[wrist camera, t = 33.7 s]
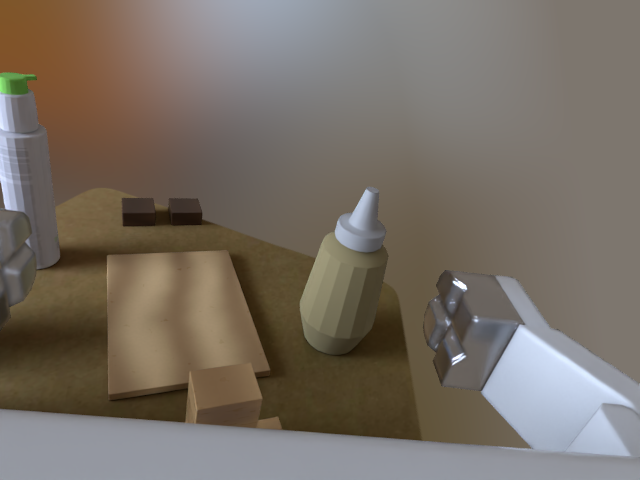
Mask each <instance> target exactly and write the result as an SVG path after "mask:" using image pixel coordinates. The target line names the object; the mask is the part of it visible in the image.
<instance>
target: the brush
mask: <svg viewBox="0 0 640 480" xmlns="http://www.w3.org/2000/svg"><path fill="white" fill-rule="evenodd" d="M262 399H263V398H262V395H261V392H260V389H259V386H258V383H257V380H256V376H255V373H254V370H253V367H252V364H251V363H243V364H236V365H229V366H222V367H215V368H208V369H201V370H194V371H190V373H189V385H188V398H187V410H186V422H185V423H196V424H209V425H222V426H236V427H249V428H262V429H276V430H282V427H281V424H280V421H279V418H278V417H273V418H268V419H263V420H258V418H259V413H260V408H261V403H262Z"/></svg>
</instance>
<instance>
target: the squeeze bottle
mask: <svg viewBox="0 0 640 480" xmlns="http://www.w3.org/2000/svg"><path fill="white" fill-rule="evenodd" d="M378 201H379V191H378V189H376V188H373V187H367V188H366V191H365V192H364V194H363V196H362V198H361V200H360V201H359V203H358V205H357V207H356V208H355V210H354V212H353V213H346V214H344V215H342V216H340V218H339V219H338V222H337V226H336V230H335V231H333V232H331V233H329V234H327V235H326V236H325V238H324V240H323V241H322V244H321V247H320V250H319V252H318V255H317V258H316V260H315V263H314V266H313V268H312V271H311V274H310V276H309V279H308V282H307V284H306V287H305V290H304V292H303V295H302V298H301V300H300V313H301V319H302V325H303V330H304V336H305V338H306V340H307V341H308V343H309V344H310V345H311V346H313V347H314V348H315V349H316V350H318V351H321V352H323V353H326V354H331V355H341V354H345V353H348V352H349V351H351V350H352V349H353V348H354V347H355V346H356V345H357V344H358V343H359V342H360V341H361V340H362V339H363V338H364V337H365V335H366V334H367V333H368V332H369V331H370V330H371V329H372V326H373V323H374V320H375V315H376V311H377V306H378V301H379V297H380V292H381V288H382V283H383V279H384V274H385V269H386V265H387V260H388V253H387V251H386V249H385V247H384V246H383V245H382V243H383V240H384V237H385V234H386V229H385V227H384V225H383V224H382V223H381V222H380V221H378V220H377V217H378Z"/></svg>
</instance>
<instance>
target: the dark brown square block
mask: <svg viewBox="0 0 640 480" xmlns="http://www.w3.org/2000/svg"><path fill="white" fill-rule="evenodd" d="M168 211H169V216H170V221H171V225H201V224H202V210H201V207H200V204H199V201H198V199H178V198H177V199H176V198H175V199H173V198H170V199H169V208H168Z"/></svg>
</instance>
